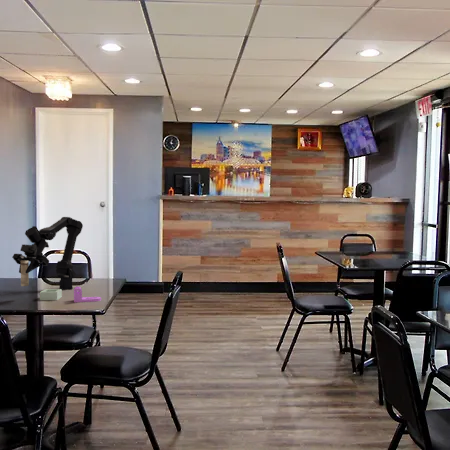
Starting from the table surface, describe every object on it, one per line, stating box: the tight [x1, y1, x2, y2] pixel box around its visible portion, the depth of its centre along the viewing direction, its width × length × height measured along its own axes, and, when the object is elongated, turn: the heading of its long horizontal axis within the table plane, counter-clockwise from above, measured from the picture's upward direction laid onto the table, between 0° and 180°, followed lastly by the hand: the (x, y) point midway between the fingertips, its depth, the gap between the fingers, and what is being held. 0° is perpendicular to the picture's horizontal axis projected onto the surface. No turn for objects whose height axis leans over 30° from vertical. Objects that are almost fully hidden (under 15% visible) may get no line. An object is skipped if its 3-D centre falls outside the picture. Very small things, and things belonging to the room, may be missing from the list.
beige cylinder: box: [20, 260, 30, 287], centre depth 252 cm, size 4×4×12 cm
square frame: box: [39, 288, 63, 301], centre depth 255 cm, size 8×8×4 cm
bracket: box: [73, 286, 102, 303], centre depth 251 cm, size 13×6×7 cm, turn 107°
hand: (22, 272), depth 251 cm, fingers closed on beige cylinder, 4 cm apart
